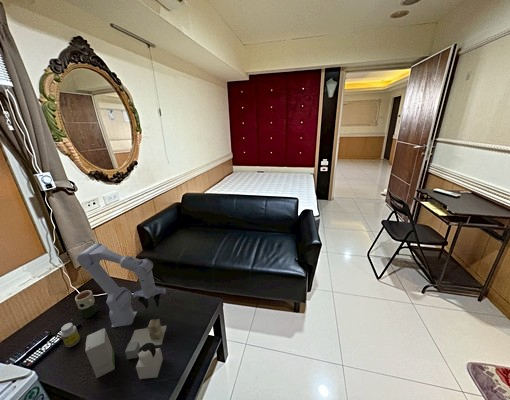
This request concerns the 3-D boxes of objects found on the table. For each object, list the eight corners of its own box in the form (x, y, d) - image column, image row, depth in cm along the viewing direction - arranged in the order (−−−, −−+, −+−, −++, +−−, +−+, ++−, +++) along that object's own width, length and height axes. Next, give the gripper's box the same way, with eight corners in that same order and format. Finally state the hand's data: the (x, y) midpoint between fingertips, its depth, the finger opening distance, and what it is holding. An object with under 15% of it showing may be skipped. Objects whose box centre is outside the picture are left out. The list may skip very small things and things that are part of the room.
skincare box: (114, 369, 88) (105, 342, 82) (95, 379, 84) (84, 352, 79) (114, 352, 94) (105, 326, 89) (96, 361, 91) (86, 335, 86)
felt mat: (126, 350, 95) (126, 349, 95) (135, 330, 105) (135, 329, 104) (161, 344, 97) (161, 344, 97) (166, 325, 107) (166, 325, 106)
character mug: (76, 316, 113) (68, 297, 108) (90, 306, 119) (83, 287, 115) (90, 322, 109) (83, 302, 105) (103, 311, 116) (97, 292, 111)
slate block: (127, 359, 91) (125, 351, 90) (131, 350, 95) (128, 342, 93) (137, 358, 92) (135, 350, 90) (140, 349, 96) (138, 341, 94)
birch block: (151, 340, 99) (147, 327, 97) (153, 332, 103) (150, 320, 100) (159, 338, 100) (156, 326, 97) (162, 331, 103) (159, 318, 101)
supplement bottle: (64, 349, 96) (57, 333, 93) (67, 339, 101) (60, 324, 97) (78, 344, 98) (72, 328, 95) (81, 334, 103) (75, 319, 100)
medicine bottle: (146, 360, 91) (140, 340, 87) (163, 359, 91) (158, 339, 87) (139, 379, 84) (132, 358, 80) (157, 377, 85) (152, 356, 81)
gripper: (128, 292, 96) (134, 314, 101) (161, 288, 98) (165, 310, 103) (134, 281, 103) (139, 303, 107) (165, 277, 105) (169, 299, 109)
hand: (152, 305), depth 106 cm, fingers open, 4 cm apart
